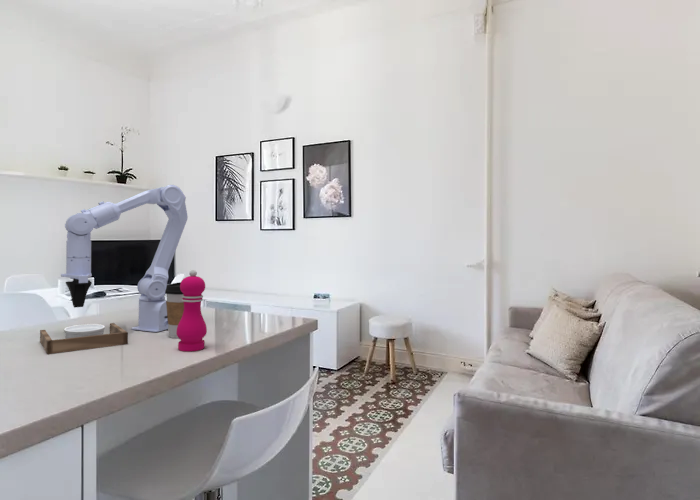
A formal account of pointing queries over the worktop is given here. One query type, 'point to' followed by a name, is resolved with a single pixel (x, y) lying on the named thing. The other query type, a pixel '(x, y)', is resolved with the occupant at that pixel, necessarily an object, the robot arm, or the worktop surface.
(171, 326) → the coffee cup
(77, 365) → the worktop surface
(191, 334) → the pepper mill
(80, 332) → the ramekin
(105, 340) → the box
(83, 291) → the robot arm
